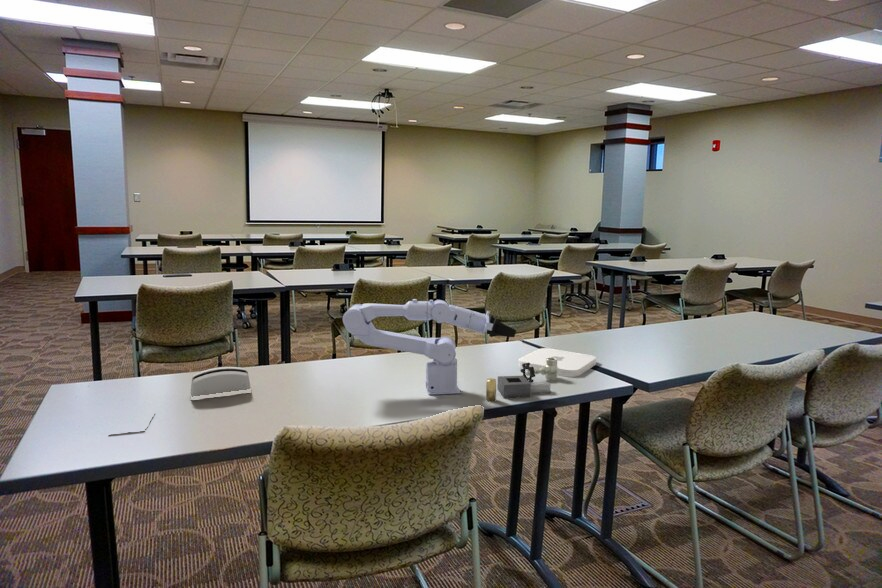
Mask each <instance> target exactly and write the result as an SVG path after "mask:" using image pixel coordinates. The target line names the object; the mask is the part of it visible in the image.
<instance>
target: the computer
mask: <svg viewBox="0 0 882 588" xmlns="http://www.w3.org/2000/svg"><path fill="white" fill-rule="evenodd" d="M546 358H556V359H557V366H558V372H557V373H556V374H557V376H561V375H562V376H563V377H566V378H567V377H568V378H576V377H579V376H581V375H583V374H584V373H586V372H587V371H589V370H590V369H591V368H593V367H594V366H596V365H597V356H595V355H591V354H587V353H586V354H585V353H579V352H574V351H567V350H561V349H556V348H555V349H554V348H549V347H548V348H547V347H541V348H538V349H536V350H534V351H532V352H530V353H528V354H526V355H524V356H522V357H519V358H518V367H519V368H520V369H523V367H522V364H526V363H530V365H529V367H534V369H537V368H540V366H543V365H545V366H546ZM525 366H526V365H525Z"/></svg>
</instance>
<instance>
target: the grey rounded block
mask: <svg viewBox="0 0 882 588" xmlns="http://www.w3.org/2000/svg"><path fill="white" fill-rule="evenodd" d="M250 388H251V389H252V386H251V382H250V377H249V371H248V370H247V368H243V367H239V366H218V367H214V368H208V369H205V370H202V371H198V372H197V373H194V374H193V375H192V379H191V386H190V394H191V396H192V397H193V396H200V395H209V394H216V393H223V392H231V391H239V390H247V389H250ZM191 396H190V397H191Z"/></svg>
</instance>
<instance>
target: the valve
mask: <svg viewBox="0 0 882 588" xmlns="http://www.w3.org/2000/svg"><path fill="white" fill-rule="evenodd" d="M525 365H526V366H525ZM529 365H530V363H526V364H522V367H523V368H520V370H519V371H520V373H522V376H524V377H525V378H526V379H527V380H528V381H529V383H534V379H533V378H535V377H536V375H539V374H540V375H542V376H544V375H545V380H548V379H549V380H548V381H554V379H556V380H557V378H558V377H557V376H558V375H557V374H556V373H557V372H558V366H557V359H556V358H546V366H545V365H543V366H540V368H537V369H534V367H529Z"/></svg>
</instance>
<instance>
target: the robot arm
mask: <svg viewBox="0 0 882 588" xmlns="http://www.w3.org/2000/svg"><path fill="white" fill-rule="evenodd" d="M490 313H491V312H490V311H489V310H487V311H486V313H481V312H478V311H474V310H471V309H468V308H464V307H461V306H457V305H454V304H449V303H448V302H447V301H445V300H442V299H436V300H433V299H429V300H427V301H426V300H425V301H424V300H418V299H417V298H413V299H412V300H409V301H407V302H406V303H405V304H394V303H393V304H390V303H389V304H388V303H374V302H373V303H371V302H370V303H369V302H368V303H367V302H366V303H363V304H361V303H356V304H352V305H351V306H350V307H349V309H348V310H347V311H345V312H344V314H343V316H342V323H343V325H344V327H345V329H346V332H348V333H350V334H351V335H353V336H354V337H355V338H357V339H358V340H359V341H361V342H362V343H363V344H364V345H366V346H372V347H377V348H384V349H388V350H394V351H399V352H406V353H410V354H418V355H421V356H423V355H424V356H425V357H427V358H428V359H431V360H433V361H428V362H426V363H425V388H426V391H427V394H428V395H429V396H430V395H451V394H452V395H454V394H461V391H460V389H459V387H458V360H457V358H456V355H457V353H456V348H457V344H456V342H455V340H454V339H453V338H451V337H449V336H442V337H421V336H416V335H411V334H405V333H400V332H394V331H387V330H382V329H376V327H375V325H374V324H373V322H372V320H374V319H376V318H378V317H380V318H381V317H404V318H406V320H408V321H431V320H433V321H435V323H437V324H443V323H447V324H451V325H452V326H455V327H459V328H463V329H465V330H469V331H472V332H476V333H479V334H481V335H484V334H485V333H486V335H488V337H489V338H490V337H491V338H492V337H505V338H506V337H507V338H514V337H515V335H516V333H517V330H516V329H515V328H513V327H511V326H509V325H506V324H505V323H503V322H501V321H500V320H499V319H498V318H497V317H494V316H490Z"/></svg>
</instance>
